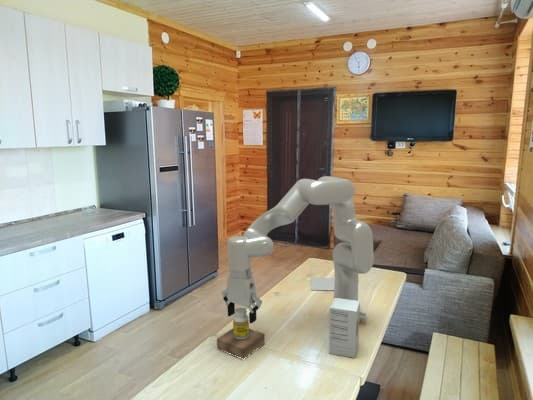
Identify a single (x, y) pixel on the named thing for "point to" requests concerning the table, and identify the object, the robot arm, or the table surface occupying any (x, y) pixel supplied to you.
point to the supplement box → (344, 327)
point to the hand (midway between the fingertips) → (242, 318)
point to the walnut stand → (240, 343)
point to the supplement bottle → (241, 324)
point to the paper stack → (322, 283)
